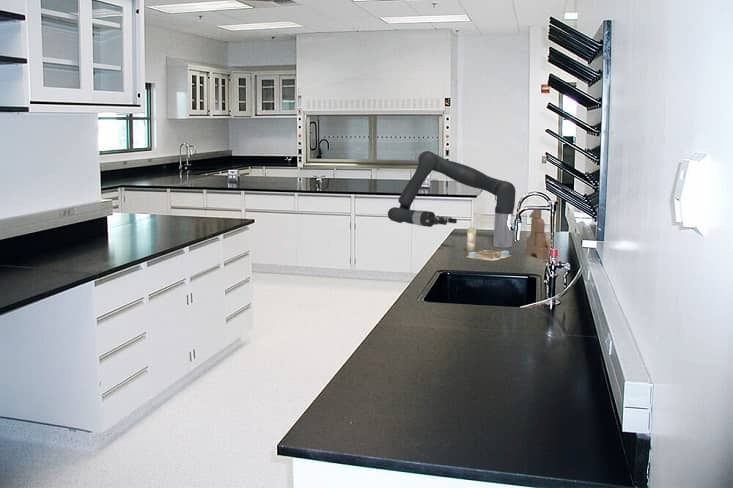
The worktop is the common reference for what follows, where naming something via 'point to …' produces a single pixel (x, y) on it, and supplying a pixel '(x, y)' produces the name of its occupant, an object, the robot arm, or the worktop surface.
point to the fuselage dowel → (471, 239)
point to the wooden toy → (537, 238)
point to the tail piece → (473, 254)
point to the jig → (489, 255)
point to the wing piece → (504, 253)
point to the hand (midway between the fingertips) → (451, 221)
